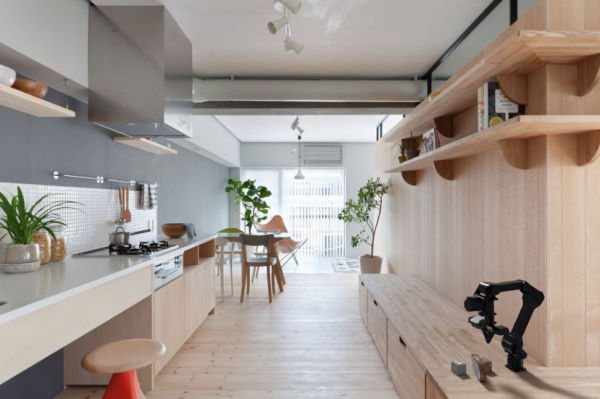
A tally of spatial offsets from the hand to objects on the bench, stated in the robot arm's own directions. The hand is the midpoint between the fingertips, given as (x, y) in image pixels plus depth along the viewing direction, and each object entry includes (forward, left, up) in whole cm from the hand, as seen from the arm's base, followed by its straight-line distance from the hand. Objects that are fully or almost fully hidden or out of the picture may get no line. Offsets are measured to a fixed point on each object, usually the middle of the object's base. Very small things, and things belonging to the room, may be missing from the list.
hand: (488, 343), depth 167 cm
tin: (+8, +2, -13) cm, 15 cm away
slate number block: (+13, -4, -13) cm, 19 cm away
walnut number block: (0, -2, -13) cm, 13 cm away
